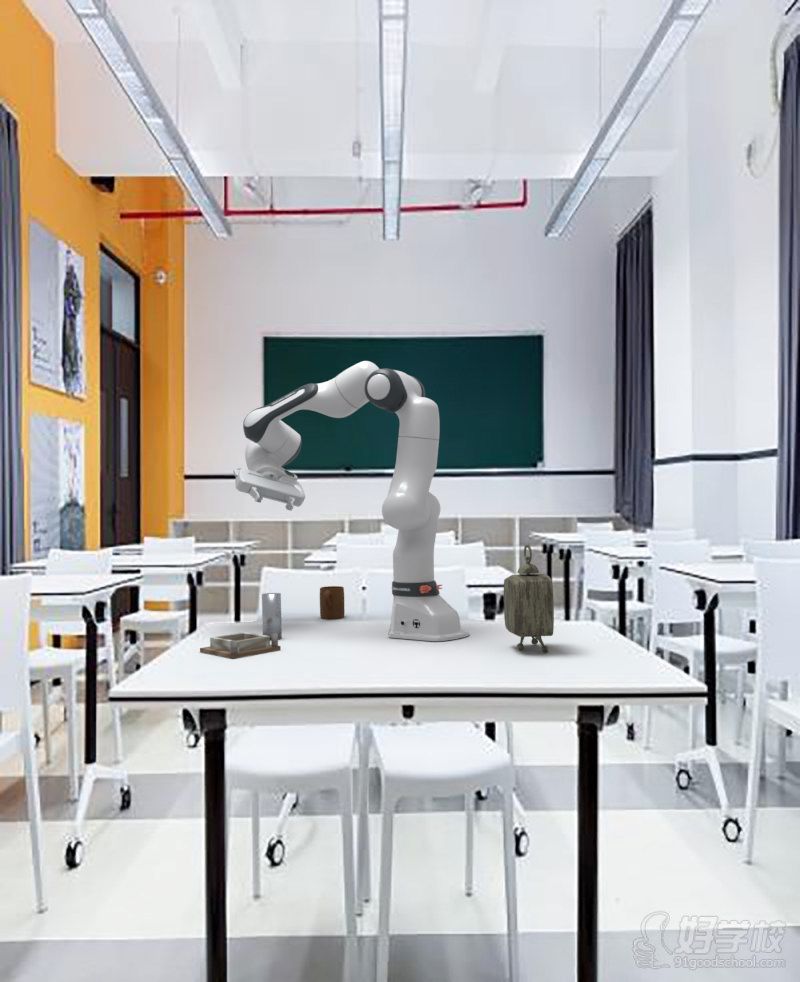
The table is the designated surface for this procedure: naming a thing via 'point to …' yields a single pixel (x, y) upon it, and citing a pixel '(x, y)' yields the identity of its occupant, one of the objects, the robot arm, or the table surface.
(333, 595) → the mug
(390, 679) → the table surface
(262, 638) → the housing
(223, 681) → the table surface
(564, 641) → the table surface
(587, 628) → the table surface
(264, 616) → the pin
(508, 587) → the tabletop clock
